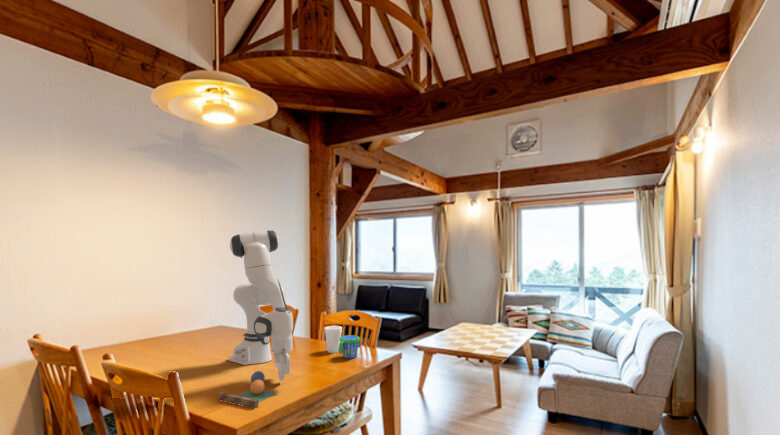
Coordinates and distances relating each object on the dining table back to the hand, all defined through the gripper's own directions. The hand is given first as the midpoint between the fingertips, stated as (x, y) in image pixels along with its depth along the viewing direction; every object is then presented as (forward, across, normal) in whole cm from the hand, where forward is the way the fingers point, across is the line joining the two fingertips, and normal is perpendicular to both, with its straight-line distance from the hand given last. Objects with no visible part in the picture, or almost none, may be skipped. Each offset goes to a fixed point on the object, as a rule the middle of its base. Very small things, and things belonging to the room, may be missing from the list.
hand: (281, 379), depth 167 cm
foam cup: (+2, +41, -35) cm, 54 cm away
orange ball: (-1, -9, +11) cm, 14 cm away
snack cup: (+2, +26, -39) cm, 47 cm away
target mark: (+2, -10, +12) cm, 16 cm away
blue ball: (-1, +2, +10) cm, 10 cm away
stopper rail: (+2, -16, +18) cm, 24 cm away
